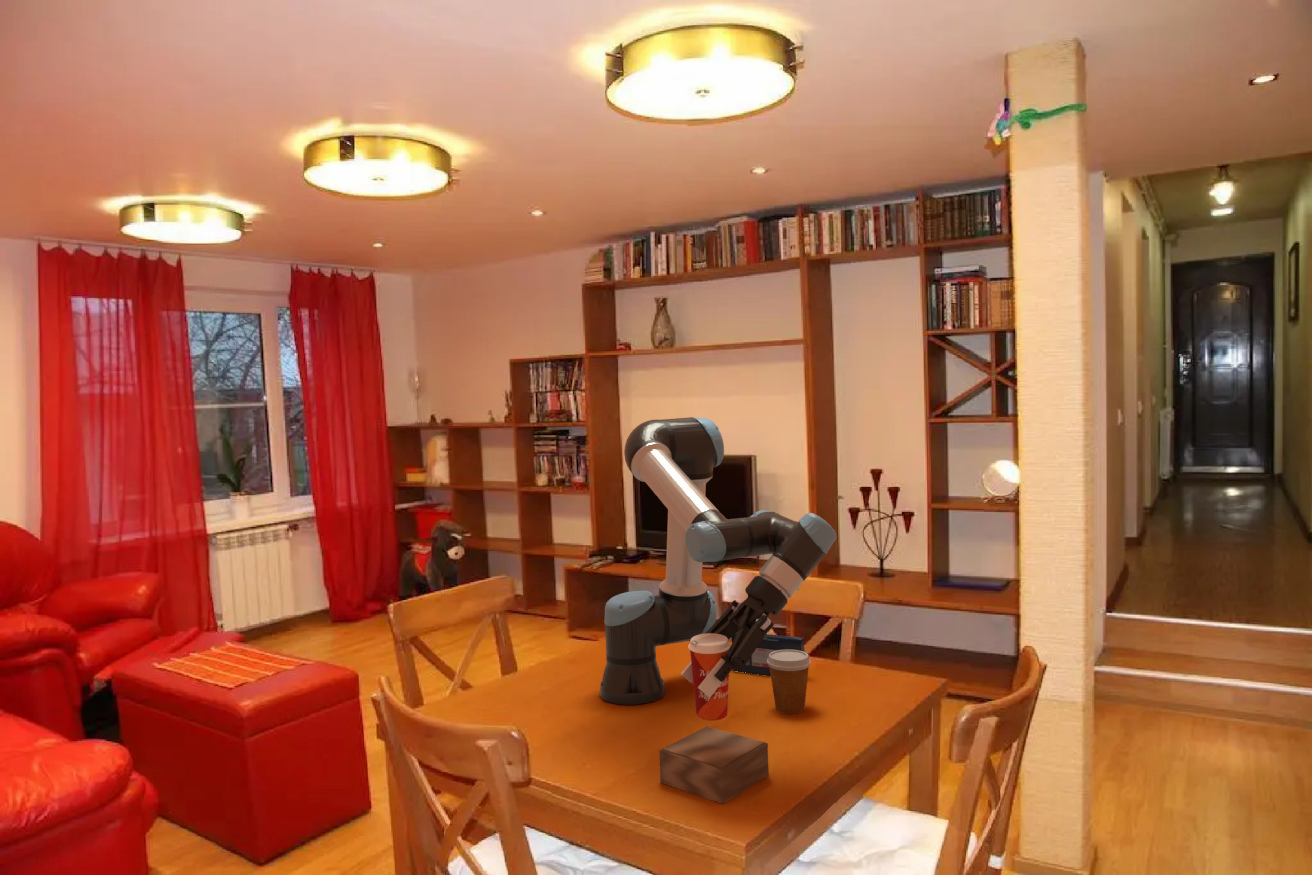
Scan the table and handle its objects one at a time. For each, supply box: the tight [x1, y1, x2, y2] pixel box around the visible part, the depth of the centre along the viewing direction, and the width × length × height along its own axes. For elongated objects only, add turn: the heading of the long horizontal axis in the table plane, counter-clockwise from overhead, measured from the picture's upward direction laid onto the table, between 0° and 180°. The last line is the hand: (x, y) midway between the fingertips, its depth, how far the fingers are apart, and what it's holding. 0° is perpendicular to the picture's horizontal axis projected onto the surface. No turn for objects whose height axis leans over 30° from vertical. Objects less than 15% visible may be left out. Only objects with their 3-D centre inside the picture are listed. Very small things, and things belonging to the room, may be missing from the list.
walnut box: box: [658, 725, 769, 805], centre depth 161 cm, size 14×14×6 cm
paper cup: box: [687, 633, 732, 721], centre depth 160 cm, size 8×8×14 cm
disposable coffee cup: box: [767, 650, 812, 715], centre depth 195 cm, size 10×10×12 cm
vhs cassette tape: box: [731, 632, 805, 677], centre depth 219 cm, size 18×3×10 cm, turn 61°
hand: (694, 685), depth 159 cm, fingers closed on paper cup, 8 cm apart
